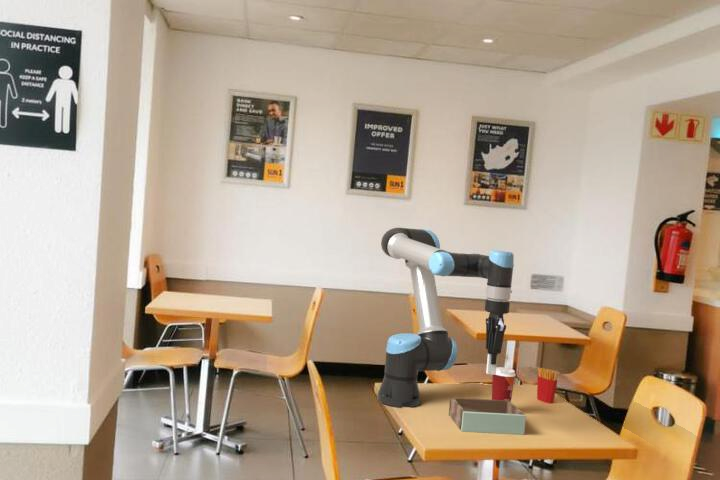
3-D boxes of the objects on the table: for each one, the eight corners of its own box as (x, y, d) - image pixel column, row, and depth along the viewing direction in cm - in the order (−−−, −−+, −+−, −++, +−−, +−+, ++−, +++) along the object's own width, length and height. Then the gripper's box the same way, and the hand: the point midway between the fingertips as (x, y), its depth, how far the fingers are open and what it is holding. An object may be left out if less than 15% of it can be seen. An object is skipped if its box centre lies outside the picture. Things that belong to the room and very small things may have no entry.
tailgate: (460, 429, 187) (462, 411, 187) (522, 433, 189) (524, 414, 189) (462, 431, 186) (463, 412, 186) (524, 434, 188) (525, 415, 188)
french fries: (556, 403, 231) (560, 372, 230) (549, 404, 229) (553, 372, 228) (539, 396, 238) (542, 366, 238) (532, 397, 236) (535, 366, 236)
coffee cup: (512, 417, 208) (517, 373, 208) (488, 413, 210) (492, 370, 210) (511, 410, 217) (515, 368, 216) (487, 406, 218) (491, 365, 218)
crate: (448, 418, 201) (450, 397, 201) (507, 421, 203) (509, 400, 203) (459, 433, 187) (461, 410, 187) (522, 436, 189) (524, 414, 189)
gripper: (516, 303, 187) (509, 379, 187) (502, 297, 200) (495, 369, 200) (492, 301, 186) (485, 378, 187) (480, 296, 199) (473, 368, 200)
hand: (490, 373), depth 194 cm, fingers closed
